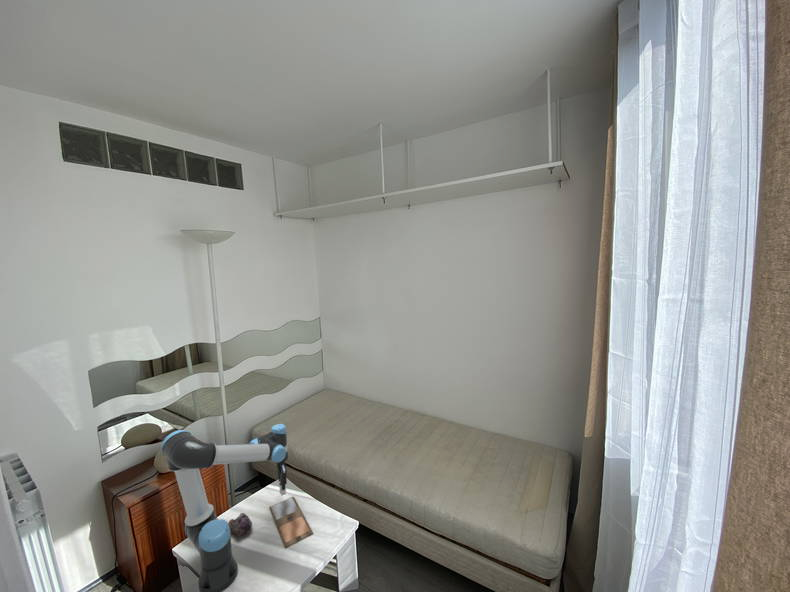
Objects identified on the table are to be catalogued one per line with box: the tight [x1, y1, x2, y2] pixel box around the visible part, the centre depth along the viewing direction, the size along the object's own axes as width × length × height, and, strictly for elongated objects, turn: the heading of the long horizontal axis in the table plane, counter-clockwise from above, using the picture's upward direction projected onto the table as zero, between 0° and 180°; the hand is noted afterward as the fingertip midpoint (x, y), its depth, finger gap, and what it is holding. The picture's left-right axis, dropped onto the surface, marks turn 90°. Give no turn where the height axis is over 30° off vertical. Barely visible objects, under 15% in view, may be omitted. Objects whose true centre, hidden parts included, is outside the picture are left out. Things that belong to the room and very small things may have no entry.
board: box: [268, 496, 314, 549], centre depth 172 cm, size 14×33×1 cm, turn 34°
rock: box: [228, 512, 253, 537], centre depth 165 cm, size 12×8×10 cm
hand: (283, 493), depth 179 cm, fingers closed
